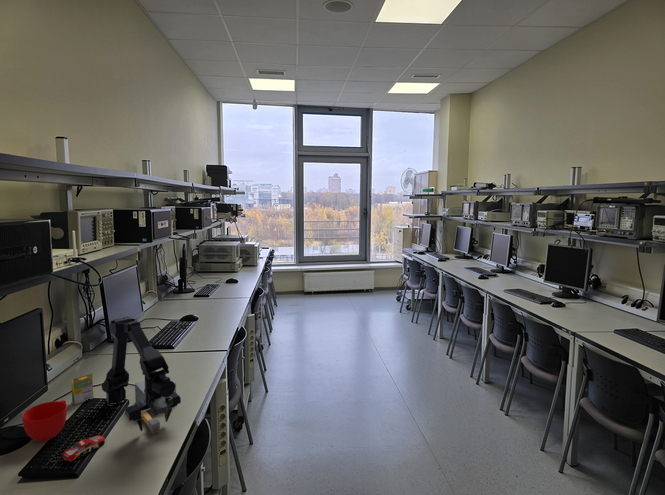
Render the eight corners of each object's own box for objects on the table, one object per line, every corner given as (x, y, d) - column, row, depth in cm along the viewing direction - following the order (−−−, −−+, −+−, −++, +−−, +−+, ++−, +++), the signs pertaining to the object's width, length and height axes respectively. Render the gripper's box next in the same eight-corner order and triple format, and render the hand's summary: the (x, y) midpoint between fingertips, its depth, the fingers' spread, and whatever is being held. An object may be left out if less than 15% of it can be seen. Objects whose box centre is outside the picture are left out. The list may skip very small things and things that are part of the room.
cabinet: (144, 414, 155) (144, 393, 154) (135, 403, 163) (135, 383, 162) (176, 403, 164) (176, 383, 163) (166, 393, 172) (165, 374, 171)
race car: (98, 438, 139) (98, 428, 139) (108, 443, 137) (108, 433, 136) (60, 460, 127) (59, 449, 127) (70, 465, 125) (69, 454, 124)
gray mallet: (152, 433, 143) (152, 425, 142) (138, 416, 153) (138, 408, 153) (159, 430, 145) (159, 422, 144) (146, 414, 155) (146, 405, 155)
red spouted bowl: (82, 419, 149) (81, 396, 148) (52, 447, 133) (50, 421, 131) (48, 419, 149) (47, 395, 148) (14, 447, 132) (12, 420, 131)
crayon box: (91, 396, 167) (90, 371, 166) (93, 398, 165) (92, 373, 164) (71, 402, 161) (70, 376, 160) (74, 405, 160) (73, 379, 158)
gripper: (133, 405, 131) (135, 446, 133) (186, 387, 144) (187, 426, 146) (123, 392, 139) (124, 432, 140) (174, 377, 152) (175, 413, 154)
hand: (154, 426), depth 145 cm, fingers open, 9 cm apart
